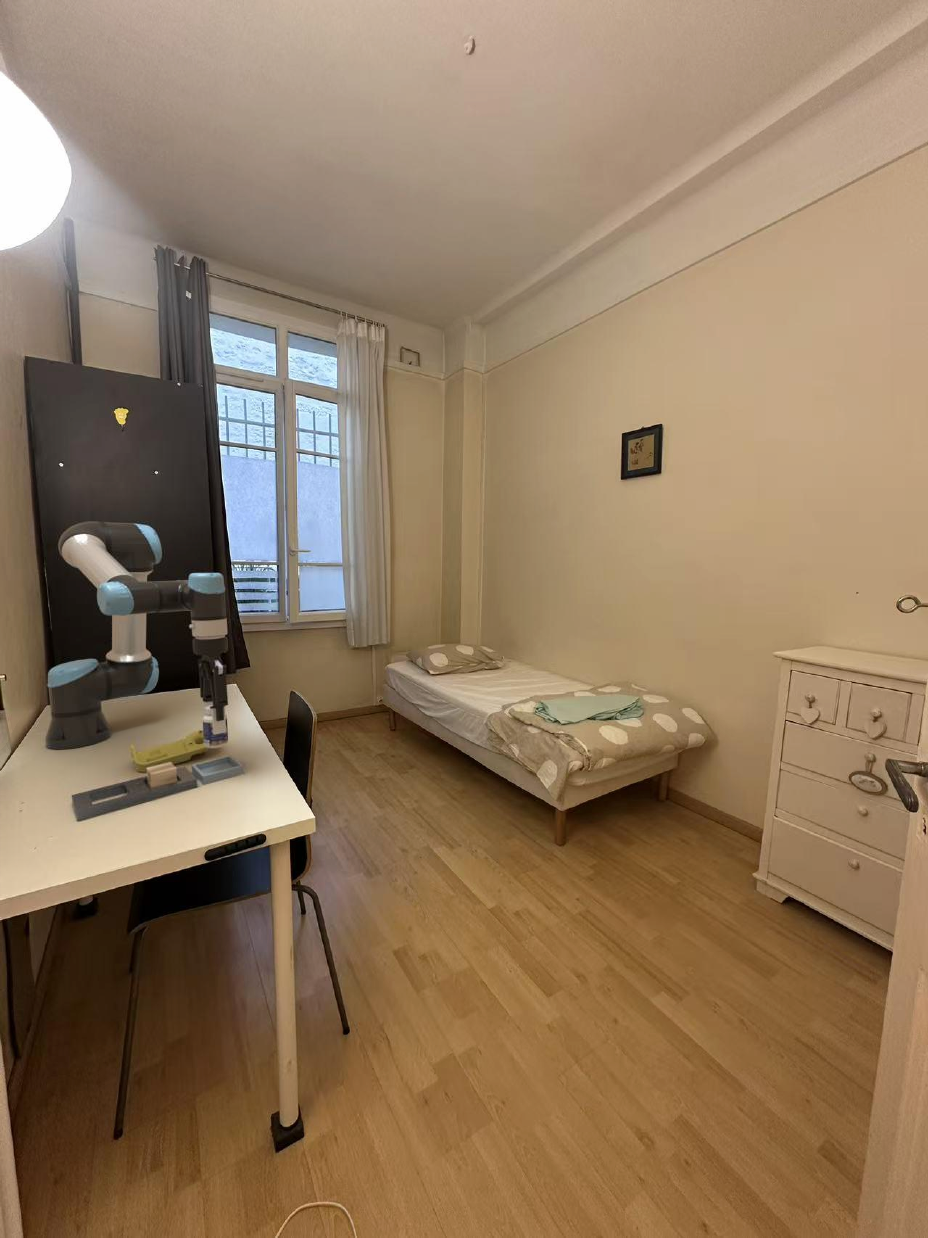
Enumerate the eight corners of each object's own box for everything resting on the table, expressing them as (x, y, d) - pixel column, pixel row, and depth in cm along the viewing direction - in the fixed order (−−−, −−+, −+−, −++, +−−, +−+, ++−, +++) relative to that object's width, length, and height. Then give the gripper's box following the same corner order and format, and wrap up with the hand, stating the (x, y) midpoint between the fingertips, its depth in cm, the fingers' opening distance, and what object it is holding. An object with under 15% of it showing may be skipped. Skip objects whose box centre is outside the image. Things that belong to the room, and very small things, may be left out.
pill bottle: (212, 750, 116) (209, 711, 115) (199, 746, 119) (197, 707, 118) (233, 743, 121) (230, 705, 120) (220, 739, 124) (218, 702, 123)
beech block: (147, 788, 113) (146, 767, 112) (172, 782, 116) (170, 762, 116) (152, 795, 109) (150, 774, 109) (177, 789, 113) (176, 768, 112)
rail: (72, 804, 105) (71, 795, 105) (185, 774, 120) (184, 766, 120) (77, 821, 98) (77, 812, 98) (197, 787, 113) (196, 779, 113)
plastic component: (136, 767, 119) (129, 740, 125) (139, 787, 123) (131, 760, 129) (223, 742, 132) (212, 719, 138) (223, 761, 135) (212, 738, 141)
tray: (192, 772, 121) (191, 765, 121) (230, 762, 127) (230, 755, 127) (203, 784, 115) (203, 776, 114) (243, 773, 121) (243, 765, 121)
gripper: (182, 634, 121) (188, 724, 124) (204, 642, 108) (211, 743, 111) (214, 631, 126) (219, 718, 129) (239, 639, 113) (245, 735, 116)
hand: (215, 729), depth 120 cm, fingers closed on pill bottle, 5 cm apart
